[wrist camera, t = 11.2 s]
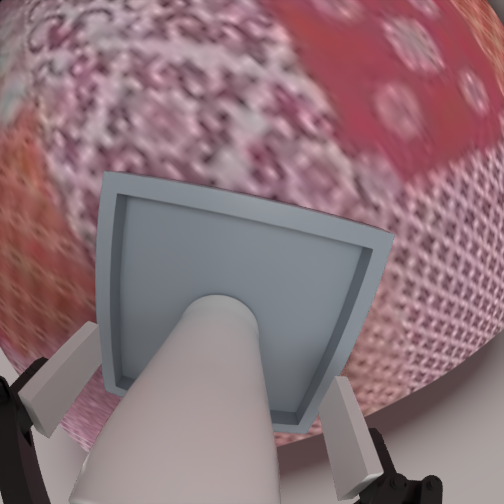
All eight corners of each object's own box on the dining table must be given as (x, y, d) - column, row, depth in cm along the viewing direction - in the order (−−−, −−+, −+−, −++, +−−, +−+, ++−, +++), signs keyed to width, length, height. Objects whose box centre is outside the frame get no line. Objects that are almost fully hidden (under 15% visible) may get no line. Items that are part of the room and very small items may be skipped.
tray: (115, 374, 21) (105, 390, 19) (121, 171, 16) (104, 171, 14) (303, 415, 22) (306, 433, 19) (379, 227, 17) (395, 234, 15)
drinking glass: (274, 359, 19) (288, 562, 4) (186, 366, 19) (127, 544, 5) (262, 274, 17) (272, 534, 3) (162, 286, 18) (23, 471, 3)
